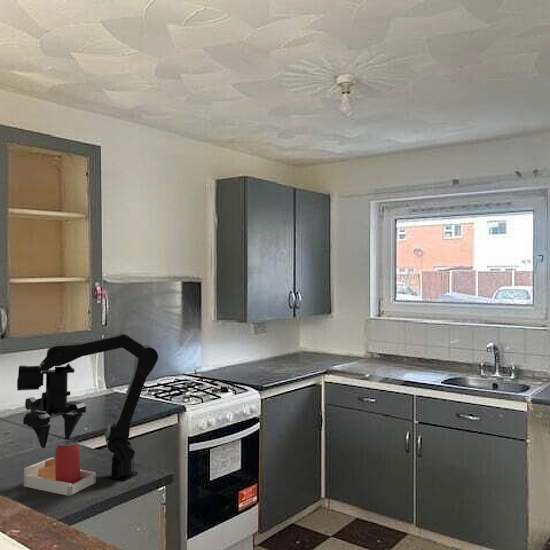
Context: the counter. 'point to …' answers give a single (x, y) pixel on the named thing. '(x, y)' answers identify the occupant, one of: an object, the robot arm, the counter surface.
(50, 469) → the pusher
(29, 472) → the white tray
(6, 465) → the counter surface
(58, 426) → the counter surface
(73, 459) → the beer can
